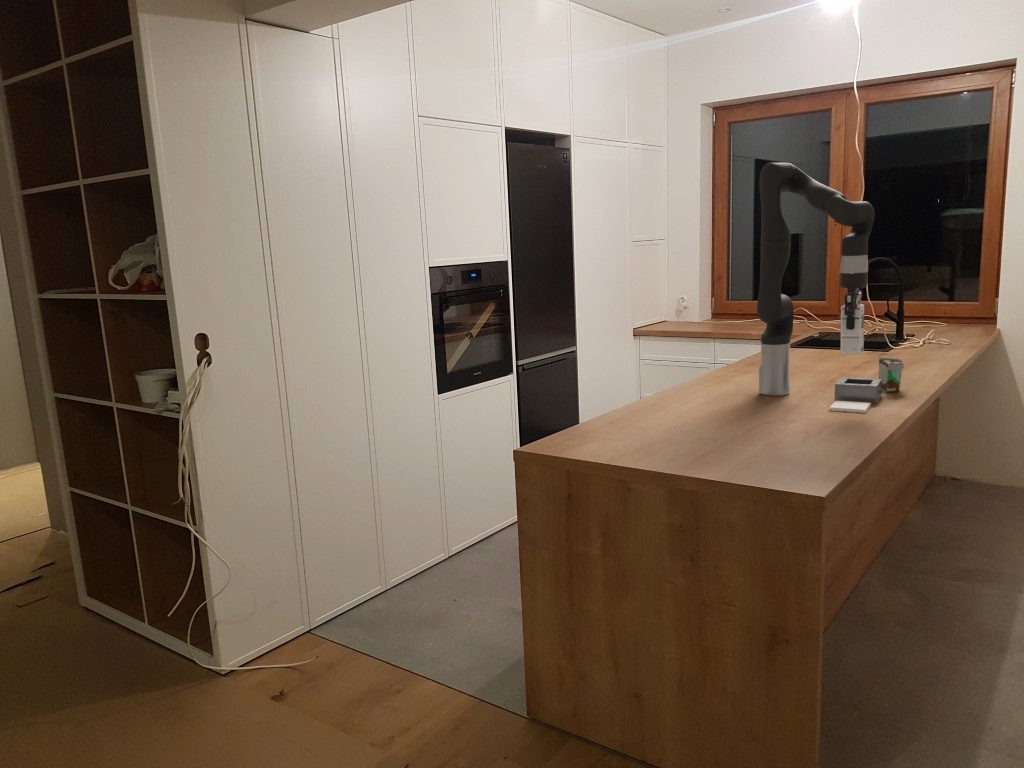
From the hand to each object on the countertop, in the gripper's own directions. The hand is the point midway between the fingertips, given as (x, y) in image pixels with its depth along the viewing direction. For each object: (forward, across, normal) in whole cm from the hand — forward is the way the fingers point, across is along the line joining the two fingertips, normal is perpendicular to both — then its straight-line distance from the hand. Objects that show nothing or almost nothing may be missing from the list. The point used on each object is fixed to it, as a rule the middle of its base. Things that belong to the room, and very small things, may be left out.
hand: (852, 327), depth 227 cm
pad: (+25, 0, 0) cm, 25 cm away
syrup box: (+8, 0, 0) cm, 8 cm away
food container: (+25, -30, +8) cm, 40 cm away
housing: (+25, -14, 0) cm, 29 cm away
